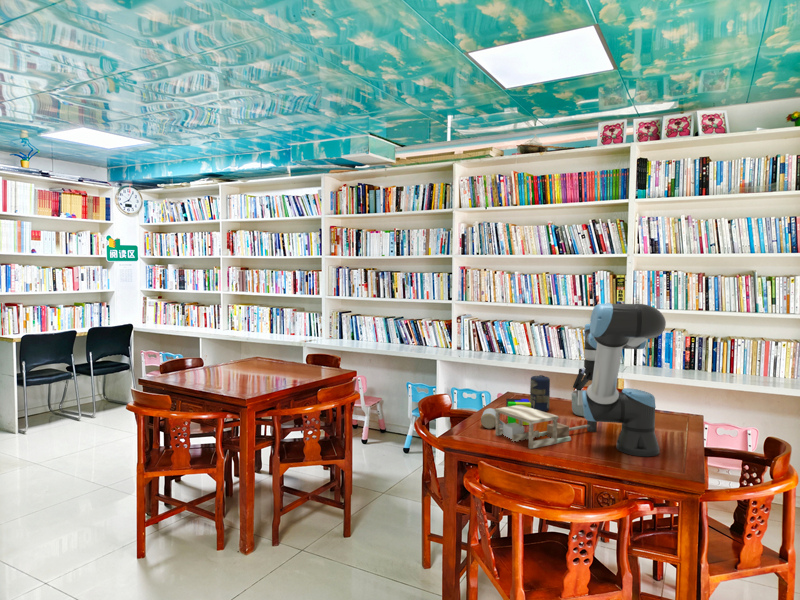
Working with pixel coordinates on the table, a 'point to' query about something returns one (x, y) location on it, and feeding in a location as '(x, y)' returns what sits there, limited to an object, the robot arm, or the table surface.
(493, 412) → the ceramic mug
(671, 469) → the table surface
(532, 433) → the lane shelf
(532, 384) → the canister
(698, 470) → the table surface
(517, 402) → the puzzle toy
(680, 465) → the table surface
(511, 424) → the grey block
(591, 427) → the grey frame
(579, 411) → the planter
